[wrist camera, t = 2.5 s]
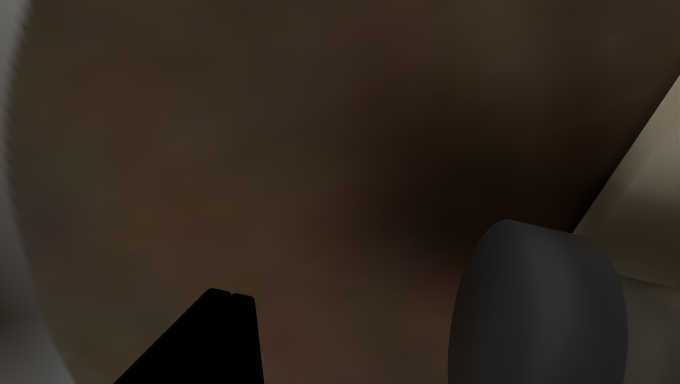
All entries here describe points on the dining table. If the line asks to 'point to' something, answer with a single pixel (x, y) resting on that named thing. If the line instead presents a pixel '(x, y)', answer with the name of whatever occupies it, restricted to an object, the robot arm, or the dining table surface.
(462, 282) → the shaft
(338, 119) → the dining table surface
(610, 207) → the bench
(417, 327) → the dining table surface
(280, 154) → the dining table surface
